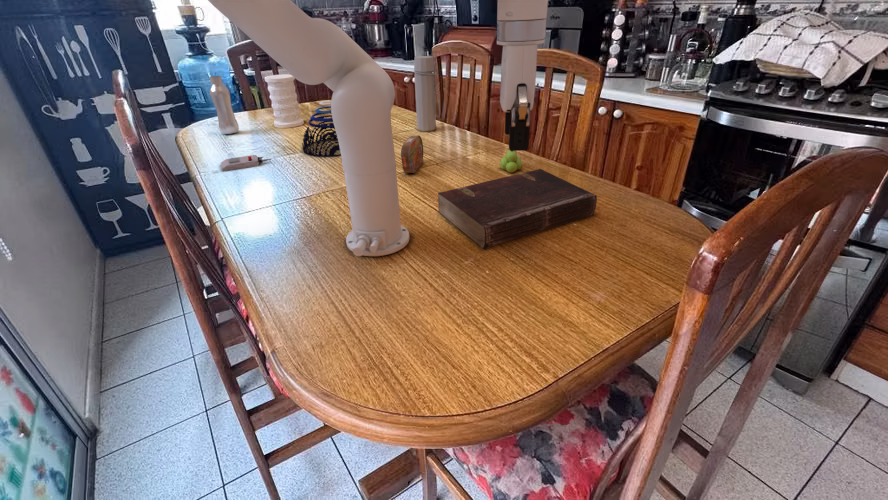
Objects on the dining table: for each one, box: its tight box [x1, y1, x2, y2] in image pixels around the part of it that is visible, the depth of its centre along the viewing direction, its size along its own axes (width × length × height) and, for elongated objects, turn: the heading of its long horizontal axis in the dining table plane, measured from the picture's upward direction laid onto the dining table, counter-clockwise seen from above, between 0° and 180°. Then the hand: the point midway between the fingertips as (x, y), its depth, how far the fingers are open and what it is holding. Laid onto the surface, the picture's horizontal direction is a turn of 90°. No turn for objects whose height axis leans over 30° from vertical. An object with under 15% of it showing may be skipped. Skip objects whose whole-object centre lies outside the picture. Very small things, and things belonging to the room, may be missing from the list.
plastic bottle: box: [208, 75, 240, 135], centre depth 153 cm, size 6×7×20 cm
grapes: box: [499, 149, 523, 174], centre depth 117 cm, size 9×6×7 cm, turn 174°
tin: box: [400, 134, 424, 174], centre depth 118 cm, size 15×3×8 cm, turn 168°
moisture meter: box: [220, 154, 272, 172], centre depth 126 cm, size 7×16×3 cm, turn 117°
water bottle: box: [413, 55, 441, 132], centre depth 150 cm, size 9×8×25 cm
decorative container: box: [264, 73, 305, 129], centre depth 163 cm, size 12×12×18 cm
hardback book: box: [437, 168, 598, 250], centre depth 92 cm, size 29×19×5 cm, turn 119°
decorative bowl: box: [301, 100, 341, 158], centre depth 136 cm, size 20×20×14 cm
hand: (515, 141), depth 74 cm, fingers open, 9 cm apart
